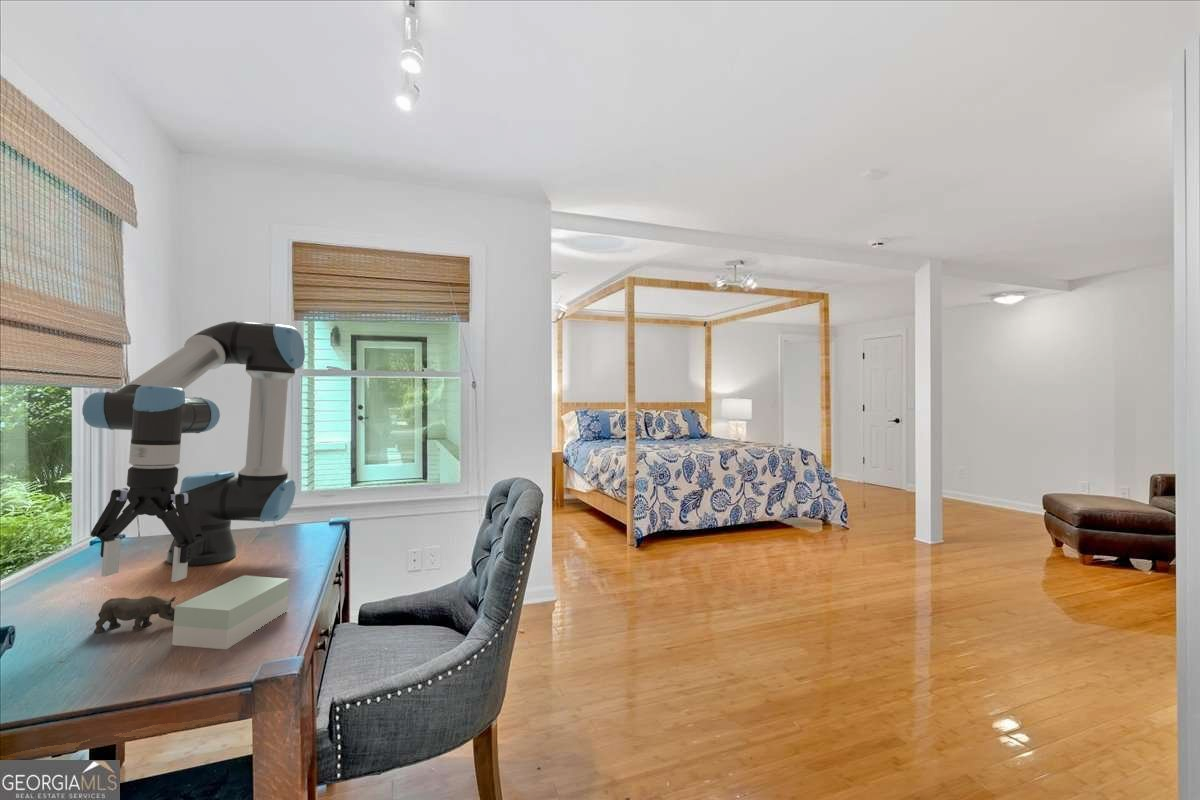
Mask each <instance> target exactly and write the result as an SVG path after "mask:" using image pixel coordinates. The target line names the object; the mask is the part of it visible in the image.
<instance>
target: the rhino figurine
mask: <svg viewBox="0 0 1200 800" xmlns="http://www.w3.org/2000/svg"><path fill="white" fill-rule="evenodd" d="M175 599H176V596H174V597H172V598H171V599H169V600H167V599H163V598H161V597H159V596H154V595H147V596H143V597H141V598H128V597H115V598H113V597H112V598H109V599H108V600H106V601H105V602H103V604H102V605H101V609H100V611H99V613H97V614H98V618H99V619H98V620H97V621H95V629H94V631H93V632H94V633H96V634H99V633H105V631H106V629H105V628H104V624H106V622H109V626H108V627H109V628H111V629H113V628H119V627H121V626H122V625H121V623H120V622H118V620H120V621H124V622H127V621H132V620H134V625H133V626H132V630H133V631H135V632H138V631H142V630H143V627H149V626H152V625H153V622H152V621H150V619H151V618H150V617H151V616H152V615H158V616H159V618H161V619H164V620H166V621H171V622H174V613H175V607H172V605H173V604H172V602H174V601H175Z"/></svg>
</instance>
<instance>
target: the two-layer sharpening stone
mask: <svg viewBox="0 0 1200 800" xmlns="http://www.w3.org/2000/svg"><path fill="white" fill-rule="evenodd" d="M289 589H290V578H285V577H284V578H282V577H271V576H269V577H268V576H256V575H244V574H243V575H241V576H239V577H237V578H235V579H232V580H230V581H228V582H225V583H224V584H222V585H219V586H217V587H215V588H212V589H211V590H208V591H206V592H204V593H201V594H199V595H196V596H195V597H193V598H189V599H188V600H186V601H184V602H181V603H179V604H177V605H175V606H174V609H175V613H174V621H173V628H172V640H171V641H172V642H171V646H176V647H177V646H179V647H190V648H191V647H192V648H204V649H214V650H215V649H216V650H228V649H230V648H232V647H233V646H234V645H236V644H237V643H239V642H241V641H243V640H244V639H245V638H247V637H249V636H251V635H252V634H254V633H255V632H257V631H258V629H259V630H261V629H262V628H263V627H265V626H266V625H265V624H267V623H268V622H270V621H271V622H273V621H274V620H273V619H275V618H276V619H278V618H279V617H278V616H280V615H281V616H283V615H284V614H286V613H287V612H288V605H289V591H290V590H289ZM286 611H287V612H286ZM285 612H286V613H285ZM283 613H284V614H283ZM282 614H283V615H282ZM281 616H280V617H281ZM277 617H278V618H277ZM276 619H275V620H276ZM272 620H273V621H272ZM271 622H270V623H271ZM268 624H269V623H268ZM268 624H267V625H268ZM264 625H265V626H264ZM262 626H263V627H262ZM261 627H262V628H261ZM256 630H257V631H256ZM253 632H254V633H253Z"/></svg>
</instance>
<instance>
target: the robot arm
mask: <svg viewBox="0 0 1200 800" xmlns="http://www.w3.org/2000/svg"><path fill="white" fill-rule="evenodd" d="M305 349H306V348H305V344H304V339H303V337H302V335H301V333H300V332H299V330H298V329H297V328H296V327H293V326H291V325H285V324H279V323H267V322H266V323H263V322H250V321H249V322H248V321H242V320H241V321H240V320H233V321H226V322H221V323H218V324H215V325H212V326H209V327H207V328H204V329H202V330H200V331H198V332H196V333H195V334H192V335H191V336H190V337H188V339H186V340H185V342H184V345H183V347H181V348H180V349H178V350H176V351H175V352H174V353H172V354H171V355H169V356H168V357H166V358H165V359H164V360H162V361H161V362H159V363H158V364H156V365H154V366H153V367H151V368H150V369H148V370H147V371H145V372H144V373H142V374H141V375H139V376H137V377H136V378H135V379H133V380H132V381H130V382H128V383H127V384H125V385H124V386H123V387H122V388H120V389H118V390H117V391H114V392H111V391H99V392H93V393H92V394H91V393H90V395H88V396H87V397H86V398H85V400H84V402H83V405H82V412H81V413H82V415H83V419H84V422H85V423H86V424H87V425H89V426H90V427H92V428H96V429H97V428H98V429H107V430H111V431H113V430H117V431H118V430H119V431H122V430H123V431H124V430H125V431H131V438H130V447H129V457H128V458H129V459H128V460H129V461H128V463H129V465H132V466H130V467H129V468H128V469H127V479H126V486H127V487H128V488H127V487H124V488H117V489H112V490H111V492H110V493H111V494H110V497H109V501H108V503H107V504H106V507H104V510H103V511H102V514H100V517H99V518H98V520H97V522H96V523H95V525H94V527H93V529H92V530H91V532H90V536H91V537H92V538H98V539H99V541H100V542H101V545H100V553H99V554H100V558H102V564H101V577H105V578H106V577H109V576H112V575H114V574H115V575H116V574H119V569H120V560H121V559H120V556H121V548H122V545H121V544H122V538H120V534H121V533H123V531H124V530H125V529H126V528H127V527H128V526H129V525H130V524H131V523H132V522H133V521H134V520H135V518H137V517H138V516H143V515H147V516H150V517H151V516H153V517H154V516H156V517H157V519H160V520H161V521H162V522H163V524H164V526H165V527H166V528H167V530H168V531H169V532H170V534H171V536H172V537H173V540H172V542H171V545H170V547H169V549H168V550H167V553H166V562H167V564H170V565H172V571H171V582H173V583H175V582H178V581H181V580H184V579H186V578H187V575H188V566H190V567H193V566H206V565H213V564H218V563H222V562H223V563H224V562H226V561H229V560H232V559H234V558H235V557H236V556H237V544H236V543H235V539H234V536H233V532H232V529H231V523H232V521H243V522H245V521H246V522H261V523H265V522H277V521H281V520H283V518H284V517H286V515H288V512H289V510H291V508H292V505H293V503H294V498H295V494H296V483H295V481H294V480H293V479H291V478H289V471H288V470H287V469H286V468H285V466H283V458H284V444H285V427H286V416H287V415H286V414H287V403H288V402H287V401H288V388H289V384H288V383H289V380H290V379H291V378H293V377H294V376H295V375H296V373H295V372H296V370H298V369H299V368H302V366H303V365H304V361H305V356H306V353H305V352H306V351H305ZM230 364H231V365H232V364H233V365H234V364H238V365H245V373H246V374H248V375H249V376H250V378H251V385H250V396H249V397H250V398H249V399H250V400H249V411H248V413H249V414H248V426H247V438H246V439H247V441H246V453H245V454H246V455H245V465H244V466H243V468H241V469H240V470H239V471H238V474H237V476H236V474H235V471H233V470H220V471H219V470H218V471H210V472H201V473H195V474H190V475H187V476H185V477H183V479H182V480H181V485H180V489H179V490H180V491H179V493H175V492H176V491H175V487H176V485H177V484H178V479H179V468H178V467H177V466H176V465H178V464H180V457H181V445H182V444H181V441H182V434H200V433H203V432H205V433H206V432H208V431H211V430H212V429H213V428H215V427H216V426H217V424H218V423H219V421H220V417H221V413H220V410H219V407H218V405H217V404H216V403H215V402H213V401H212V400H210V399H207V398H203V397H196V396H195V397H187V396H186V393H185V389H186V388H187V387H189V386H190V385H192V384H193V383H194V382H195V381H197V380H198V379H200V377H202V376H203V375H205V374H206V373H207V372H208V371H209V370H215V369H219V368H220V367H221V366H223V365H230ZM127 501H128V505H127V506H125V505H126V503H127ZM124 507H125V508H124ZM121 512H122V513H121Z"/></svg>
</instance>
